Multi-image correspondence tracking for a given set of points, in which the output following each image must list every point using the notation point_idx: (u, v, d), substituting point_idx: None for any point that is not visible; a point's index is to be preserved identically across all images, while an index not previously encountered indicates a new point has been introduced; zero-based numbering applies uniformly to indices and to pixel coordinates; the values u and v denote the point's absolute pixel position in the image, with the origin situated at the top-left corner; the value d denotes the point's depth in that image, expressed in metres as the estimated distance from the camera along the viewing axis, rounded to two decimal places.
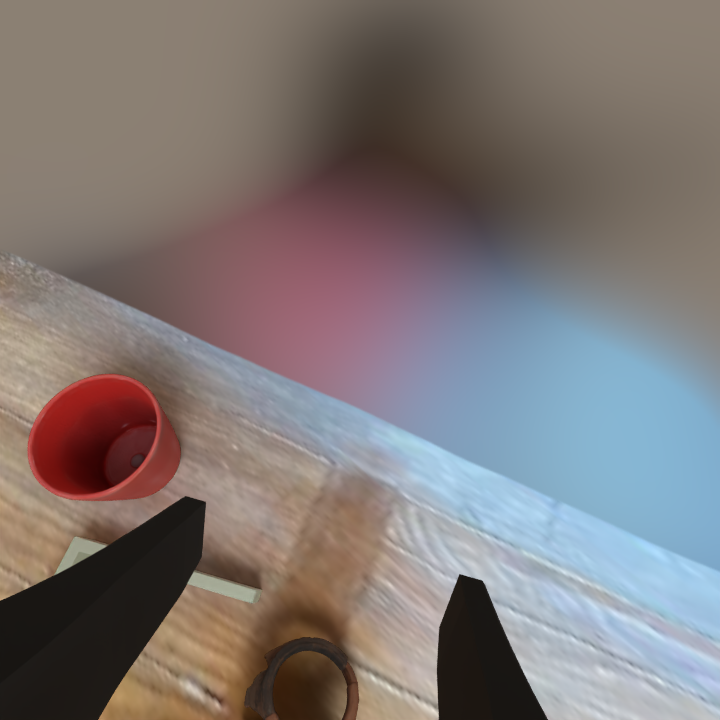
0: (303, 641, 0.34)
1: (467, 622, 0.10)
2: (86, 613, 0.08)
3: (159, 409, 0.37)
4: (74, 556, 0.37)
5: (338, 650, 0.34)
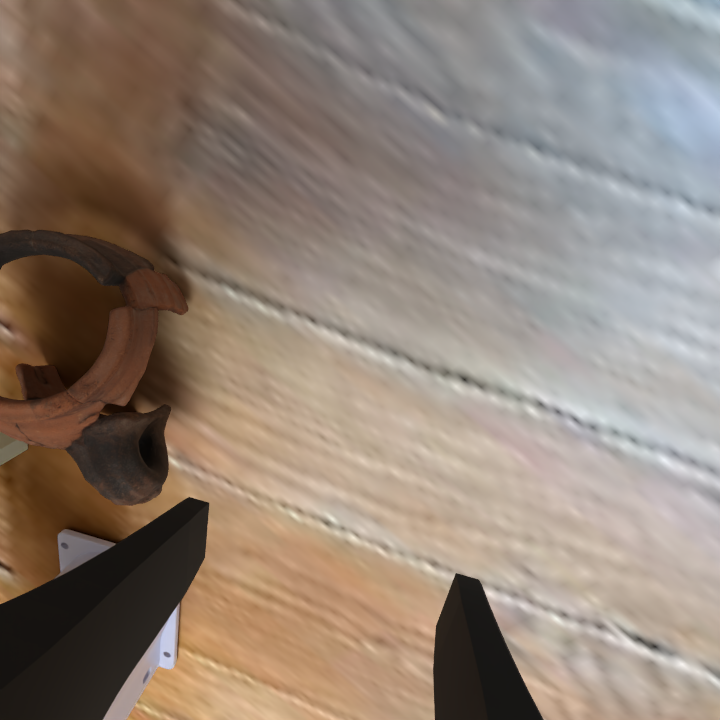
0: (9, 238, 0.16)
1: (462, 621, 0.10)
2: (91, 614, 0.08)
3: None
4: None
5: (90, 252, 0.16)
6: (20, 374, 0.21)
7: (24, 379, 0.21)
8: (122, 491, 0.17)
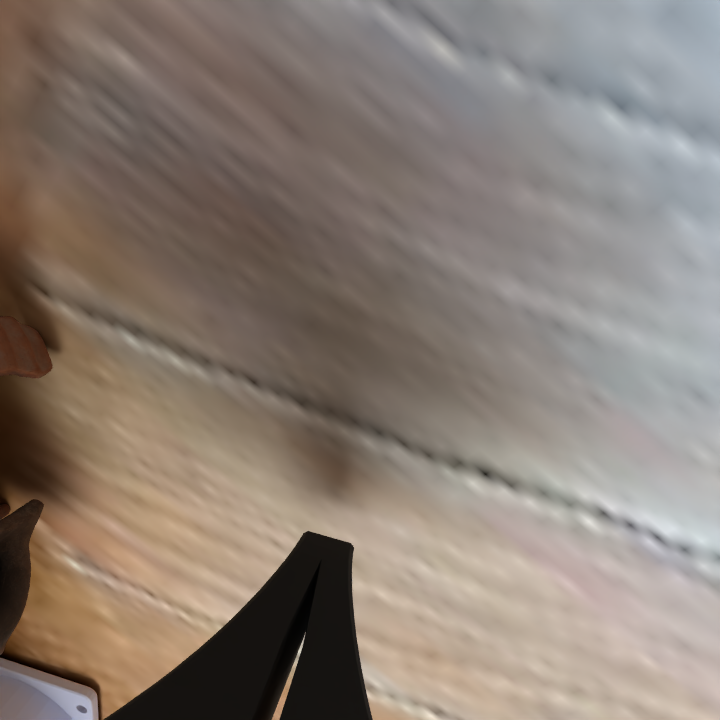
0: None
1: (317, 578, 0.10)
2: (271, 672, 0.07)
3: None
4: None
5: None
6: None
7: None
8: None
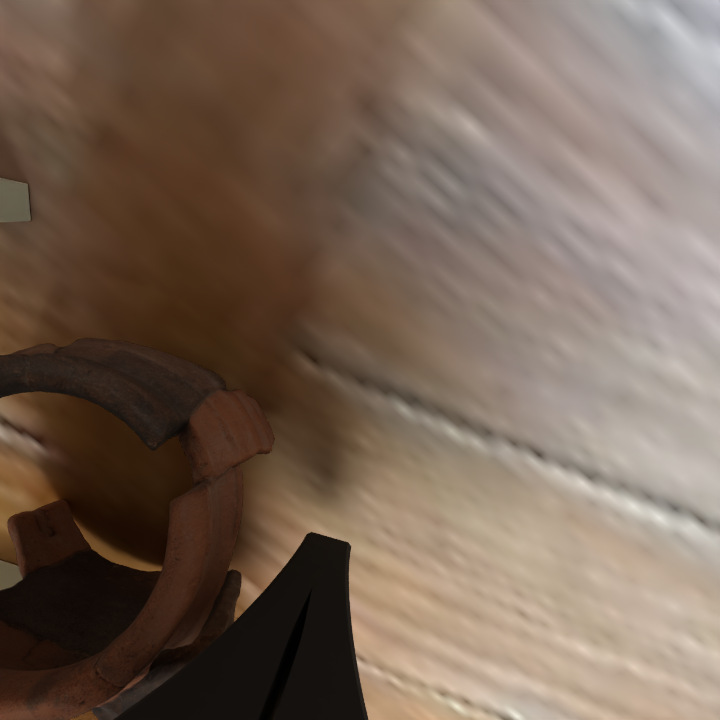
0: None
1: (314, 577, 0.10)
2: (276, 673, 0.07)
3: None
4: None
5: (132, 392, 0.09)
6: (14, 534, 0.14)
7: (20, 541, 0.14)
8: None
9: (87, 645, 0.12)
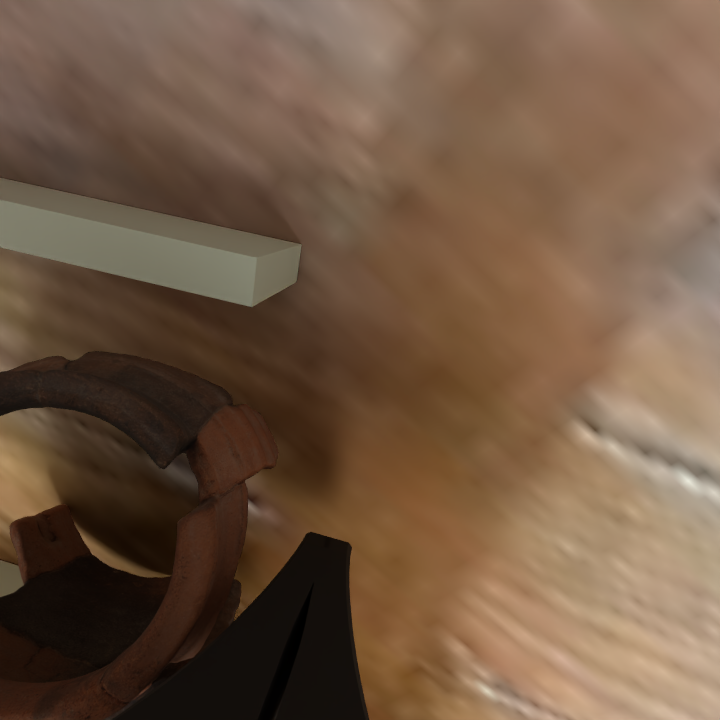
0: None
1: (315, 577, 0.10)
2: (275, 673, 0.07)
3: None
4: None
5: (143, 410, 0.09)
6: (16, 540, 0.14)
7: (22, 547, 0.14)
8: None
9: (88, 653, 0.12)
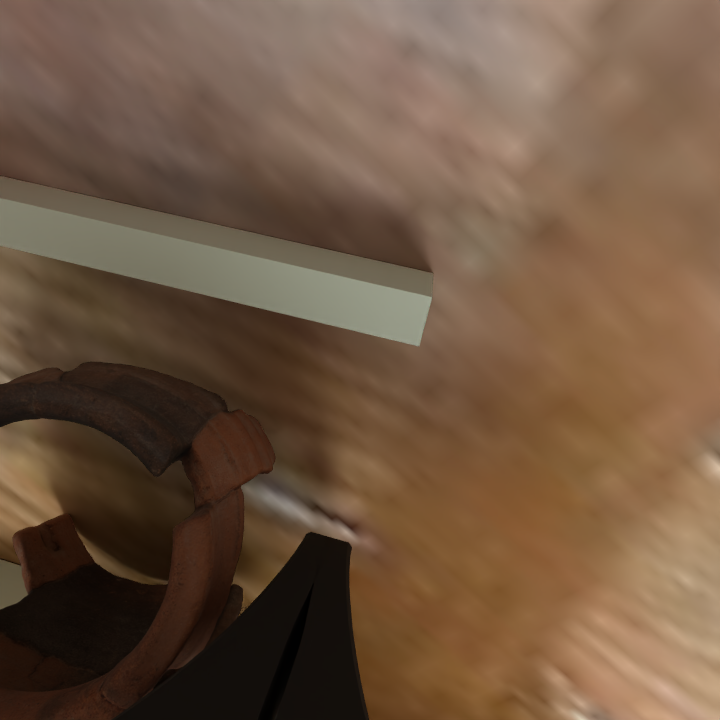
0: None
1: (315, 577, 0.10)
2: (275, 673, 0.07)
3: None
4: None
5: (136, 419, 0.09)
6: (19, 550, 0.14)
7: (25, 557, 0.14)
8: None
9: (91, 661, 0.12)
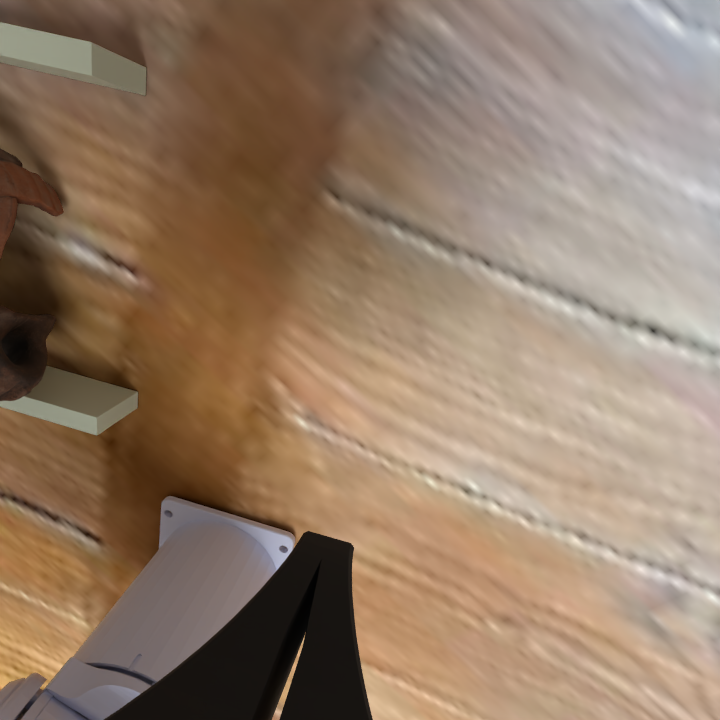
0: None
1: (317, 578, 0.10)
2: (271, 672, 0.07)
3: None
4: None
5: None
6: None
7: None
8: None
9: None
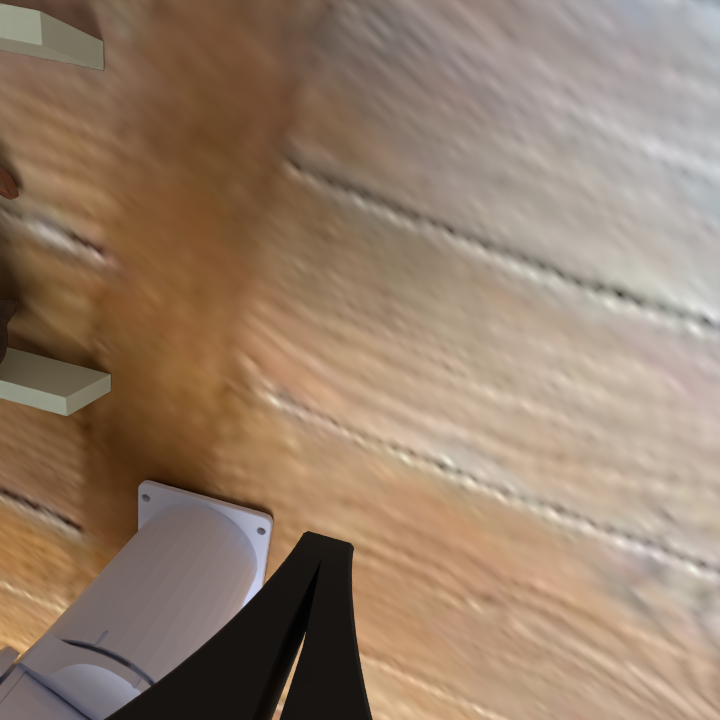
0: None
1: (317, 578, 0.10)
2: (271, 671, 0.07)
3: None
4: None
5: None
6: None
7: None
8: None
9: None
